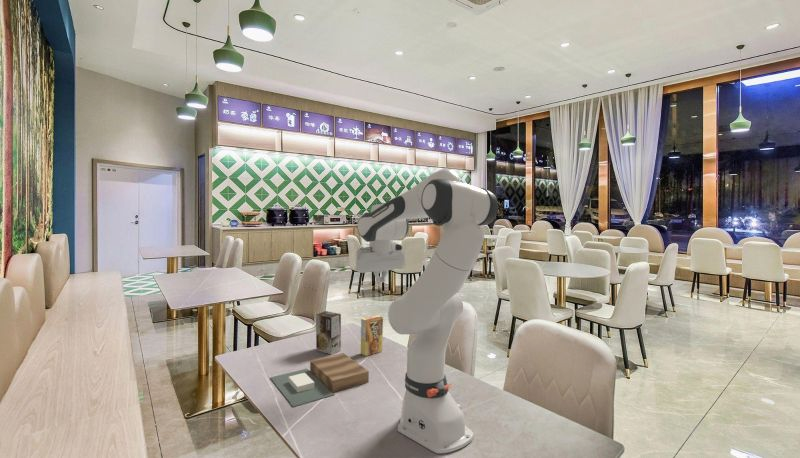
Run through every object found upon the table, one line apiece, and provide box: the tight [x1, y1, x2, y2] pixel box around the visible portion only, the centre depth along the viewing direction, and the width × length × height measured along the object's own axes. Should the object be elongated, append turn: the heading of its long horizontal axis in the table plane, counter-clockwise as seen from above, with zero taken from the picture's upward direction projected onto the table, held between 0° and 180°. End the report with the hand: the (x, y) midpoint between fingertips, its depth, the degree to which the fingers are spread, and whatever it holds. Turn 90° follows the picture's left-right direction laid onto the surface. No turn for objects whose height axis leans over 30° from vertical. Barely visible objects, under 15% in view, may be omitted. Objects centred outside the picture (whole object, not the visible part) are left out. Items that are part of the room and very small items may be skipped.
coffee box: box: [315, 310, 342, 356], centre depth 169 cm, size 9×6×16 cm
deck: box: [309, 352, 370, 393], centre depth 145 cm, size 20×14×4 cm
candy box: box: [360, 314, 384, 357], centre depth 168 cm, size 9×4×15 cm, turn 129°
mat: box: [269, 368, 335, 408], centre depth 137 cm, size 24×14×1 cm, turn 35°
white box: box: [289, 373, 314, 392], centre depth 137 cm, size 9×6×2 cm, turn 35°
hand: (380, 282), depth 149 cm, fingers closed
